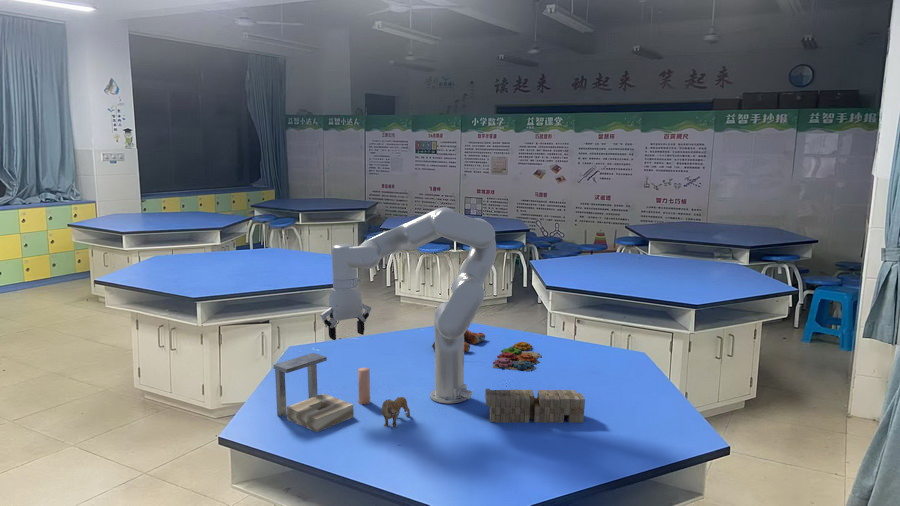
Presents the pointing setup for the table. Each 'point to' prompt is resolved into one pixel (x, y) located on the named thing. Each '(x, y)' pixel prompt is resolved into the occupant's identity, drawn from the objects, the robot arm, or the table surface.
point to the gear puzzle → (517, 358)
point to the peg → (364, 385)
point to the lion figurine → (394, 409)
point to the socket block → (320, 412)
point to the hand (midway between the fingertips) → (347, 336)
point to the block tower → (535, 406)
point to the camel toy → (470, 339)
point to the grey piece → (294, 365)
